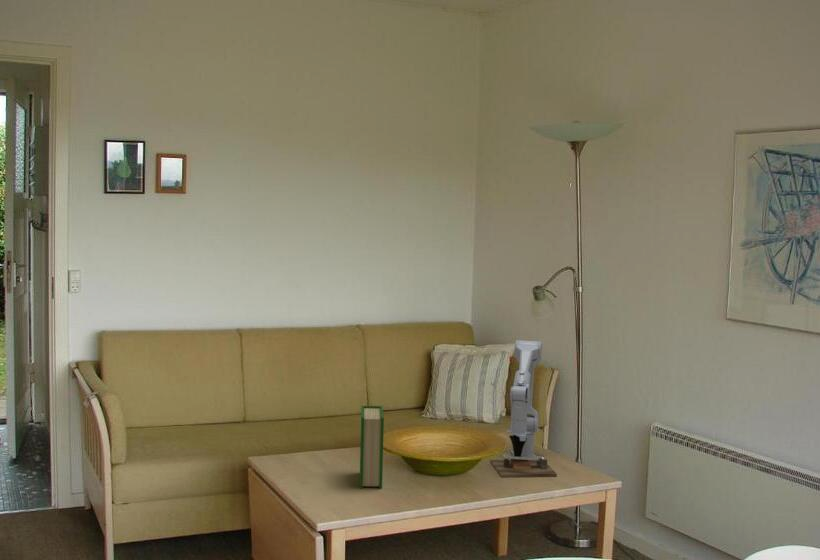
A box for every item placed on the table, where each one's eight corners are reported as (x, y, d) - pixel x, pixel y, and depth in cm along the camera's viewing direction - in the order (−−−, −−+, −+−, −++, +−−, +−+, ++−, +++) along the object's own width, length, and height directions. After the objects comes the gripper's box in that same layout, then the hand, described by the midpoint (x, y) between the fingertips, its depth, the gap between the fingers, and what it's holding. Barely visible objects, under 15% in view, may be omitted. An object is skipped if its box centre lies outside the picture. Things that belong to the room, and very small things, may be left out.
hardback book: (382, 488, 298) (383, 417, 296) (359, 488, 298) (361, 417, 296) (380, 473, 316) (382, 405, 314) (359, 472, 315) (361, 405, 313)
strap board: (490, 462, 332) (490, 450, 332) (542, 462, 334) (543, 450, 334) (501, 477, 314) (501, 464, 314) (556, 476, 317) (557, 464, 316)
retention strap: (502, 456, 325) (503, 452, 325) (541, 458, 327) (542, 455, 327) (505, 459, 321) (505, 455, 321) (544, 461, 323) (545, 458, 323)
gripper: (503, 414, 329) (502, 450, 330) (512, 423, 315) (511, 461, 316) (522, 414, 330) (520, 450, 331) (532, 423, 316) (530, 461, 317)
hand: (517, 455), depth 323 cm, fingers closed, pressing on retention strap
